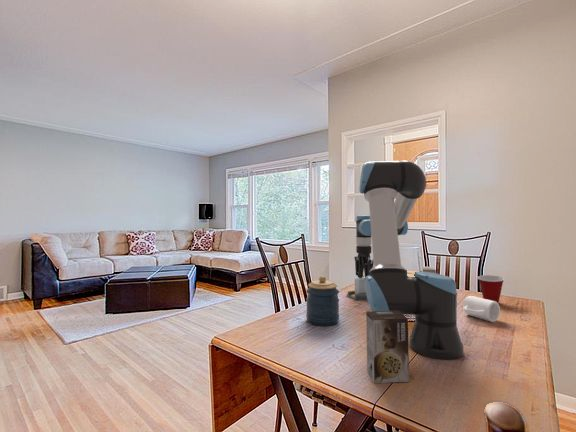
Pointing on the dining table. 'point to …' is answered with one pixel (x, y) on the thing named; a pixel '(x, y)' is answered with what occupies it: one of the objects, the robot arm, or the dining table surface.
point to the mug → (481, 308)
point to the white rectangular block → (359, 285)
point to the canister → (322, 302)
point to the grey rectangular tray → (356, 295)
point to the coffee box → (387, 346)
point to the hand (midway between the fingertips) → (364, 290)
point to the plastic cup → (491, 287)
